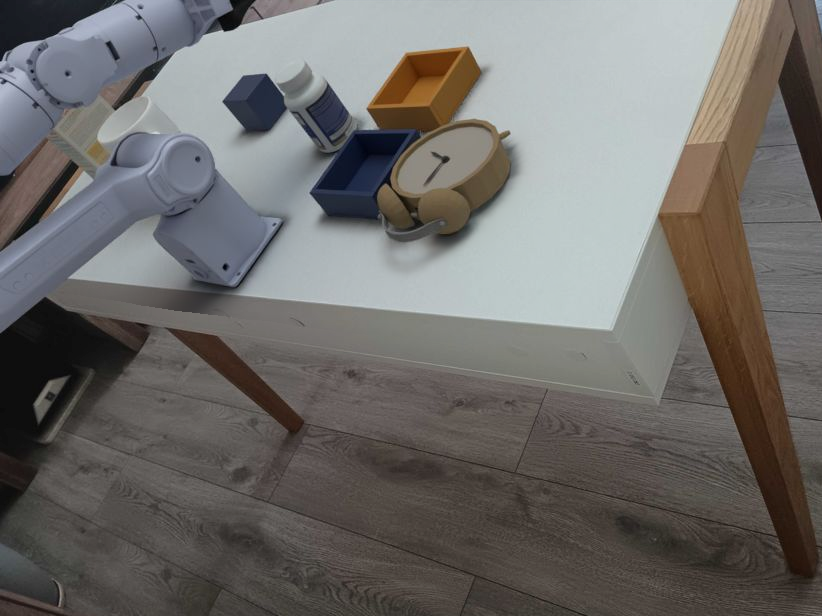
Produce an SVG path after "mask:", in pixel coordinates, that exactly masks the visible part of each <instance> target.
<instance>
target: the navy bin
mask: <svg viewBox="0 0 822 616" xmlns="http://www.w3.org/2000/svg"><path fill="white" fill-rule="evenodd" d="M421 137H422V135H421V134H420V131H418V130H417V129H394V130H380V129H357V130H354V131H353V132H352V134H351V135H350V136H349V138H348V139H347V140H346V142H345V143H344V145H343V146H342V147H341V149H339V150H338V152H337V153H336V154H335V156H334V157H333V158H332V159H331V162H330V163H329V164H328V166H327V167H326V169H324V170H323V173H322V174H321V175H320V177H319V178H318V179H317V181H316V183H315V184H314V186H312V188H311V189H310V191H309V195H310V196H311V197H312V198H313V200H314V201H315V202H316V203H317V204H318V205H319V207H320V208H321V209H322V210H323V212H324V213H325V214H326V215H327V216H335V217H347V218H356V219H357V218H358V219H370V220H379V219H378V217H377V216H378V215H379V214H380V212H379V210H380V208H379V206H378V202H377V195H378V191H379V190H380V188H381V187H382V186H383V185H384V184H387V185H388V186H389V187H390V188H391V189H392V190H393V188H392V184H391V179H390V177H391V174H392V170H393V167H394V165H395V164H396V162H397V161H398V159H399V158H400V156H401V155H402V154H403V153H404V152H405V151H406V150H407V149H408V148H409V147H410V146H411V145H412V144H413V143H414V142H416V141H417V140H419V139H420V138H421ZM393 191H394V190H393ZM394 193H395V194H396V192H395V191H394ZM396 195H397V194H396ZM397 196H398V195H397ZM398 198H399V197H398ZM381 213H382V212H381ZM385 219H386V218H385ZM386 220H387V219H386Z"/></svg>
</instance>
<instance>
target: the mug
mask: <svg viewBox="0 0 822 616" xmlns="http://www.w3.org/2000/svg"><path fill="white" fill-rule="evenodd" d="M132 132H147V133H149V134H170V135H173V134H176V133H182V131H181V130H180V129H179V127H178V126H177V125H176V124H175V123H174V121H173V120H172V119H171V118H170V117H169V115H167V114H166V112H164V111H163V109H161V107H160V106H159V105H158V104H157V102H155V101H154V100H153V99H152V98H150V97H149V96H147V95H142V96H138V97H135V98H133V99H131V100H128V101H127V102H125V103H124V104H123V105H122V106H120V107H119V108H117V109H116V110H115V112H114V113H113V114H112V115H111V116H110V117H109V118H108V119H107V120H106V121H105V123H104V124H103V125H102V127H101V128H100V130H99V132H98V136H97V139H98V142H99V143H100V144H101V146H102V147H103V148H104V149H105V150H106V151H107V152H108V153H110V154H111V155H112V152H113V150H114V147H115V145H116V144H117V142H118V141H119V140H120V139H121V138H122V137H124V136H125V135H127V134H129V133H132Z"/></svg>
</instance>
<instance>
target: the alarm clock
mask: <svg viewBox="0 0 822 616" xmlns="http://www.w3.org/2000/svg"><path fill="white" fill-rule="evenodd" d="M510 135H511V131H510V130H509V129H508V130H505V131H502V132H500V133H499V131H498V129H497V127H496V126H495V125H494V124H493V123H491V122H489V121H487V120H485V119H484V120H483V119H477V118H469V119H461V120H456V121H454V122H449V123H448V124H446V125H443V126H441V127H439V128H437V129H435V130H433V131H428V132H427V133H426V134H424V135H423V136H421V138H420V139H419V140H417V141H416V142H414V143H413V144H412V145H411V146H410V147H409V148H408V149H407V150H406V151H405V152H404V153H403V154H402V155H401V156H400V158H399V159H398V161H397V162H396V164H395V165H394V167H393V170H392V174H391V177H390V179H391V184H392V188H393V190H394V191H395V192H396V194H397V195H398V196H397V195H396V194H395V193H394V191H393V190H392V189H391V188H390V187H389V186H388V185H387V184H384V185H383V186H382V187H381V188H380V190H379V191H378V195H377V202H378V206H379V208H380V210H379V212H380V214H379V215H378V216H377V217H378V219H377V220H379V221H381V225H382V229H383V230H384V232H385V233H386V235H387V236H388V237H389V239H391V240H393V241H395V242H400V243H408V242H414V241H417V240H420V239H423V238H425V237H427V236H428V235H430V234H432V233H436V234H441V235H448V234H449V235H450V234H455V233H456V232H459V231H460V230H461V229H462V228H464V227H465V225H466V223H467V221H468V220H469V218H470V213H471V212H473V211H475V210H476V209H478V208H479V207H481V206H482V205H483V204H485V203H486V202H488V201H489V200H490V199H492V198H493V197H494V195H495V194H496V193H497V192H498V191H499V190H501V188H502V187H503V186H504V185H505V184H504V183H505V182H506V180H507V179H508V178H507V177H508V176H509V174H510V172H511V162H512V160H511V159H510V158H511V157H510V156H509V154H508V152H507V150H506V149H505V146H504V143H503V142H502V141H503V140H505V139H506V138H508V137H509V136H510ZM398 197H399V198H398ZM381 212H382V213H381ZM385 218H386V219H387V220H386V219H385ZM414 220H417V221H420V222H421V223H422V224H423V226H421V227H418V228H416V229H412V230H409V231H403V232H400V231H398V232H397V231H394V230H391V229H389V228H390V227H389V224H390V225H392V226H394V227H396V228H398V229H401V230H402V229H404V230H405V229H409V228H412V227H413V226H414V227H415V221H414Z"/></svg>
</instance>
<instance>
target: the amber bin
mask: <svg viewBox="0 0 822 616" xmlns="http://www.w3.org/2000/svg"><path fill="white" fill-rule="evenodd" d="M481 74H482V69H481V68H480V66H479V64H478V62H477V60H476V58H475V56H474V54H473V52H472V51H471V48H470V46H458V47H449V48H438V49H429V50H419V51H409V52H405V53H404V55H403V56H402V57H401V59H400V61H398V63H397V65H396V66H395V67H394V69H393V70H392V72H391V73H390V74H389V76H388V77H387V79H386V80H385V81H384V83H383V84H382V86H381V87H380V88H379V90H378V91H377V92H376V94H375V95H374V97H373V98H372V100H371V101H370V102H369V104H368V105H367V106H366V108H365V109H366V111H367V112H368V114H369V116H370V117H371V118H372V120H373V122H374V123H375V124H376V126H377V127H378V130H394V129H417V130H418V132H431V131H433V130H435V129H437V128H439V127H441V126H443V125H446V124H450V123H451V120H452V118H453V117H454V115H455V114H456V112H457V111H458V109H459V108H460V107H461V105H462V103H463V102H464V100H465V99H466V97H467V95H468V94H469V92H471V89H472V88H473V86H475V83H476V81H477V80H478V78H479V77H480V76H481Z"/></svg>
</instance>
